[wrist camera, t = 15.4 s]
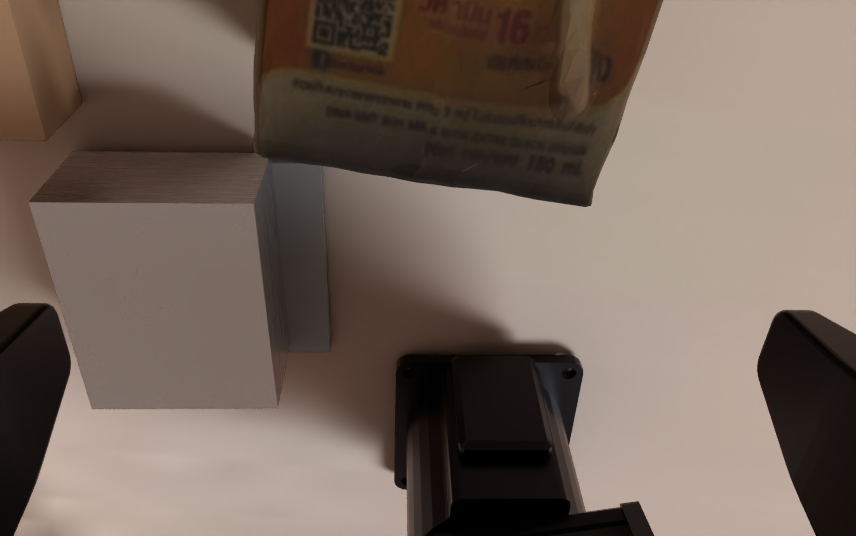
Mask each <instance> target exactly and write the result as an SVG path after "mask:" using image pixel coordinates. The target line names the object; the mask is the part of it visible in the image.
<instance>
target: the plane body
mask: <svg viewBox="0 0 856 536" xmlns="http://www.w3.org/2000/svg"><path fill="white" fill-rule="evenodd" d="M81 105H82V101H81V97H80V93H79V88H78V84H77V80H76V75H75V71H74V67H73V63H72V58H71V54H70V50H69V45H68V41H67V37H66V33H65V28H64V24H63V20H62V16H61V11H60V7H59V3H58V0H0V140H13V141H47V140H48V139H49V138H50V137H51V136H52V135H53V134H54V133H55V131H56V130H57V129H58V128H59V127H60V126H61V125H62V124H63V123H64V122H65V121H66V120H67V119H68V118H69V117H70V116H71V115H72V114H73V113H74V112H75V111H76V110H77V109H78V108H79V107H80V106H81Z"/></svg>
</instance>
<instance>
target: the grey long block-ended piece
mask: <svg viewBox="0 0 856 536" xmlns="http://www.w3.org/2000/svg"><path fill="white" fill-rule="evenodd" d="M662 2H663V0H257V24H256V43H255V56H254V96H253V99H254V112H255V134H254V139H253V143H252V147H253V150H254V152H255V153H257V154H258V155H259V156H261V157H262V158H267V159H272V160H280V161H290V162H296V163H302V164H309V165H318V166H327V167H335V168H340V169H345V170H350V171H355V172H359V173H365V174H372V175H379V176H387V177H392V178H397V179H402V180H407V181H412V182H417V183H426V184H435V185H442V186H448V187H457V188H471V189H481V190H492V191H500V192H504V193H508V194H512V195H516V196H521V197H526V198H531V199H536V200H542V201H549V202H556V203H563V204H569V205H576V206H583V207H587V206H591V203H592V197H593V190H594V187H595V185H596V182H597V179H598V177H599V174H600V172H601V169H602V167H603V165H604V162H605V160H606V158H607V156H608V154H609V151H610V149H611V147H612V145H613V143H614V141H615V138H616V136H617V133H618V129H619V126H620V123H621V120H622V116H623V113H624V110H625V106H626V103H627V100H628V97H629V94H630V92H631V89H632V86H633V84H634V81H635V79H636V76H637V73H638V71H639V68H640V65H641V63H642V60H643V58H644V55H645V52H646V50H647V47H648V44H649V41H650V38H651V35H652V32H653V29H654V26H655V23H656V20H657V17H658V14H659V11H660V8H661V5H662Z"/></svg>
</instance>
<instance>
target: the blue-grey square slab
mask: <svg viewBox="0 0 856 536" xmlns="http://www.w3.org/2000/svg"><path fill="white" fill-rule="evenodd" d="M271 160H272V159H271ZM272 170H273V180H274V190H275V200H276V210H277V220H278V230H279V240H280V250H281V261H282V271H283V281H284V291H285V301H286V311H287V321H288V331H289V341H290V347H289V352H330V346H331V340H330V320H329V299H328V279H327V258H326V237H325V217H324V196H323V176H322V166H318V165H309V164H302V163H296V162H290V161H280V160H272Z"/></svg>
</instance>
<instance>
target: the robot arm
mask: <svg viewBox="0 0 856 536" xmlns="http://www.w3.org/2000/svg"><path fill="white" fill-rule="evenodd" d="M410 367H411V368H415V370H413V371H407V370H405V369H406V368H410ZM568 368H572V370H570V371H567V372H565V371H564V370H565V369H568ZM70 369H71V359H70V354H69V350H68V347H67V343H66V340H65V337H64V333H63V330H62V327H61V324H60V320H59V317H58V314H57V312H56V310H55V309H54V307H53V306H51V305H49V304H46V303H18V304H14V305H12V306H10V307H8V308H6V309H4V310H3V311H1V312H0V536H14V534H15V531H16V529H17V527H18V524H19V522H20V520H21V518H22V515H23V513H24V511H25V508H26V506H27V504H28V502H29V499H30V497H31V494H32V492H33V489H34V487H35V484H36V482H37V479H38V476H39V473H40V470H41V467H42V464H43V461H44V457H45V454H46V451H47V447H48V444H49V441H50V438H51V434H52V431H53V428H54V424H55V421H56V418H57V415H58V411H59V408H60V405H61V401H62V398H63V395H64V391H65V388H66V385H67V382H68V378H69V375H70ZM757 372H758V378H759V382H760V385H761V388H762V391H763V394H764V397H765V400H766V404H767V407H768V410H769V413H770V416H771V419H772V422H773V425H774V429H775V432H776V435H777V438H778V441H779V444H780V447H781V450H782V454H783V457H784V460H785V463H786V466H787V469H788V471H789V474H790V477H791V480H792V482H793V485H794V487H795V490H796V492H797V494H798V497H799V499H800V501H801V504H802V506H803V508H804V510H805V512H806V515H807V517H808V519H809V521H810V524H811V526H812V528H813V530H814V533H815V535H816V536H856V334H854V333H853V332H851V331H849V330H847V329H845V328H844V327H842V326H840V325H838V324H836V323H835V322H833V321H831V320H829V319H827V318H826V317H824V316H822V315H820V314H818V313H817V312H814V311H810V310H782V311H780V312H778V313H777V314H776V315H775V317H774V318H773V321H772V323H771V326H770V328H769V331H768V334H767V337H766V339H765V342H764V345H763V347H762V350H761V353H760V356H759V359H758V365H757ZM582 377H583V368H582V365H581V362H580V361H579V359H578V358H576V357H575V356H570V355H425V354H410V355H405V356H403V357H401V358H400V359H399V360H398V361H397V364H396V404H395V474H394V481H395V485H396V486H397V487H399V488H401V489H406V490H407V536H654V534H653V532H652V530H651V528H650V525H649V523H648V521H647V519H646V517H645V514H644V512H643V510H642V508H641V506H640V504H639V502H638V501H636V502H629V503H622V504H620V507H617V508H610V509H603V510H596V511H589V512H586V511H585V507H584V503H583V499H582V495H581V491H580V487H579V483H578V479H577V476H576V472H575V468H574V464H573V460H572V456H571V452H570V448H569V442H570V437H571V432H572V427H573V422H574V417H575V412H576V407H577V402H578V397H579V392H580V387H581V382H582Z"/></svg>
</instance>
